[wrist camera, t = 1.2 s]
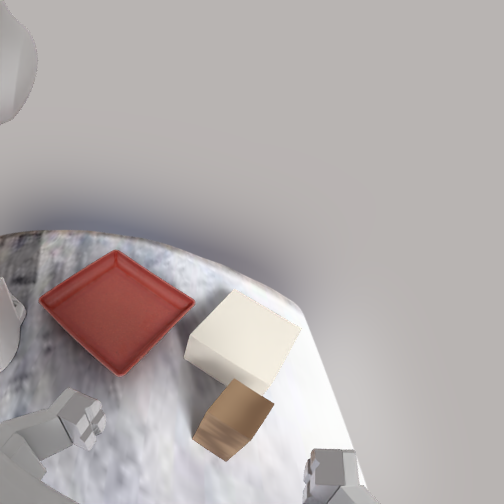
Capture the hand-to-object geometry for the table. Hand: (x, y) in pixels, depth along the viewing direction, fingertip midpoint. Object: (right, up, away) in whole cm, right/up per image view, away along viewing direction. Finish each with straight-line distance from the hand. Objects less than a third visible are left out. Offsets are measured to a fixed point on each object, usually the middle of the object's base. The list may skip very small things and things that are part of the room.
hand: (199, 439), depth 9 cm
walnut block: (-2, -16, +23) cm, 28 cm away
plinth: (0, -9, +35) cm, 36 cm away
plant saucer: (-19, -3, +33) cm, 38 cm away
